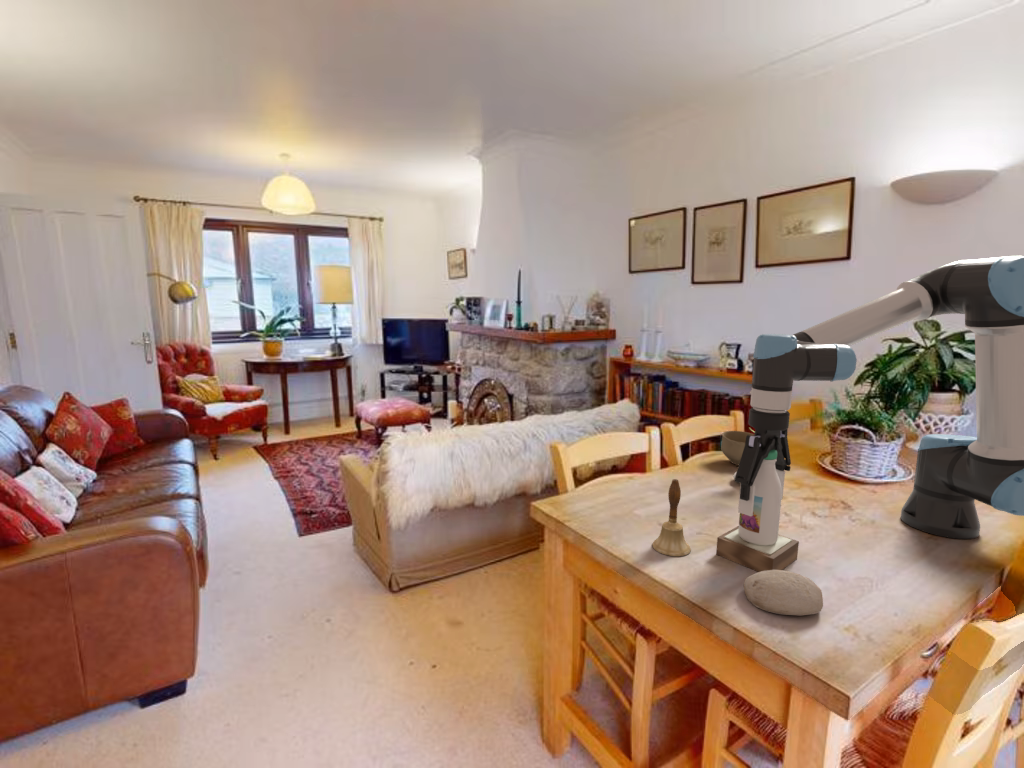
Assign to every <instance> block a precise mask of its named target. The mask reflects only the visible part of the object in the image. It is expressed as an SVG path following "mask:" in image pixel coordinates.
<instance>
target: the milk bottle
mask: <svg viewBox="0 0 1024 768" xmlns="http://www.w3.org/2000/svg"><path fill="white" fill-rule="evenodd" d="M776 458H777V451H776V450H775V449H774V450H771V451H770V452H769V454H768V457H767V458H764V460H763V462H762V464H761V467H760V469H759V471H758V474H757V476H756V478H755V481H754V483H753V485H755V495H754V506H753V516H748V515H745V514H742V513H739V519H738V526H739V530H738V533H739V536H740V537H741V538H742V539H743V540H745V541H747V542H749V543H752V544H756V545H763V546H768V545H773V544H775V543H776V542H777V539H778V534H779V527H780V520H781V519H780V517H781V507H782V500H781V496H782V488H781V482H780V479H779V477H778V474H777V472H776V467H775V462H776V461H777V460H776Z"/></svg>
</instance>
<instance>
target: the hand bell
mask: <svg viewBox="0 0 1024 768" xmlns="http://www.w3.org/2000/svg"><path fill="white" fill-rule="evenodd" d="M679 482H680V481H679V479H677V478H673V479H672V481H671V484H670V486H669V489H668V495H667V496H668V497H667V498H668V503H669V515H668V520H667V521H665V522H663V523H662V524H661V530H660V534H659V536H658V537H657V538H656V539H654V540H653V541H652V545H651V546H652V547H653V549H654V550H655V551H656V552H657V553H660V554H661V555H665V556H670V557H683V556H688V555H689V554H690V553H691V551H692V549H691V546H690V545H689V544H688V543H687V542H686V541H687V540H686V539H685V535H684V530H683V529H684V528H683V525H682V524H681V523H679V522H677V520H678V507H679V503H680V502H681V501H680V500H681V497H682V496H681V494H682V493H681V491H682V490H681V486H680V483H679Z"/></svg>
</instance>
